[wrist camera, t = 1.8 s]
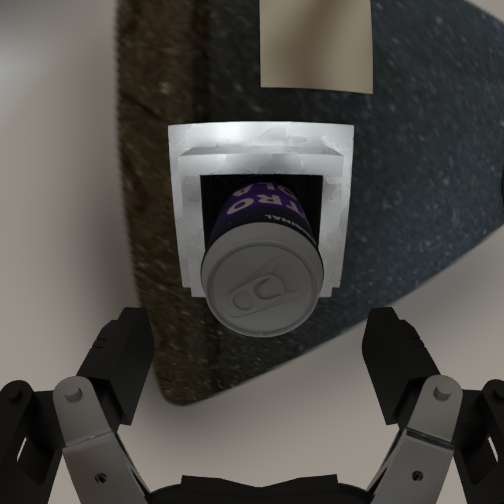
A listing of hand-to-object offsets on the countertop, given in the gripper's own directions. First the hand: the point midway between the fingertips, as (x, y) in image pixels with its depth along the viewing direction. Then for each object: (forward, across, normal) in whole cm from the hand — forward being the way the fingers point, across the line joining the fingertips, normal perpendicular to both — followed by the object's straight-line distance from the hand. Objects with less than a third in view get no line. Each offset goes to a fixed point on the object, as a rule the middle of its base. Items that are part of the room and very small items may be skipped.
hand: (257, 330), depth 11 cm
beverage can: (+15, 0, 0) cm, 15 cm away
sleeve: (+15, 0, 0) cm, 15 cm away
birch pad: (+14, -4, -13) cm, 20 cm away
